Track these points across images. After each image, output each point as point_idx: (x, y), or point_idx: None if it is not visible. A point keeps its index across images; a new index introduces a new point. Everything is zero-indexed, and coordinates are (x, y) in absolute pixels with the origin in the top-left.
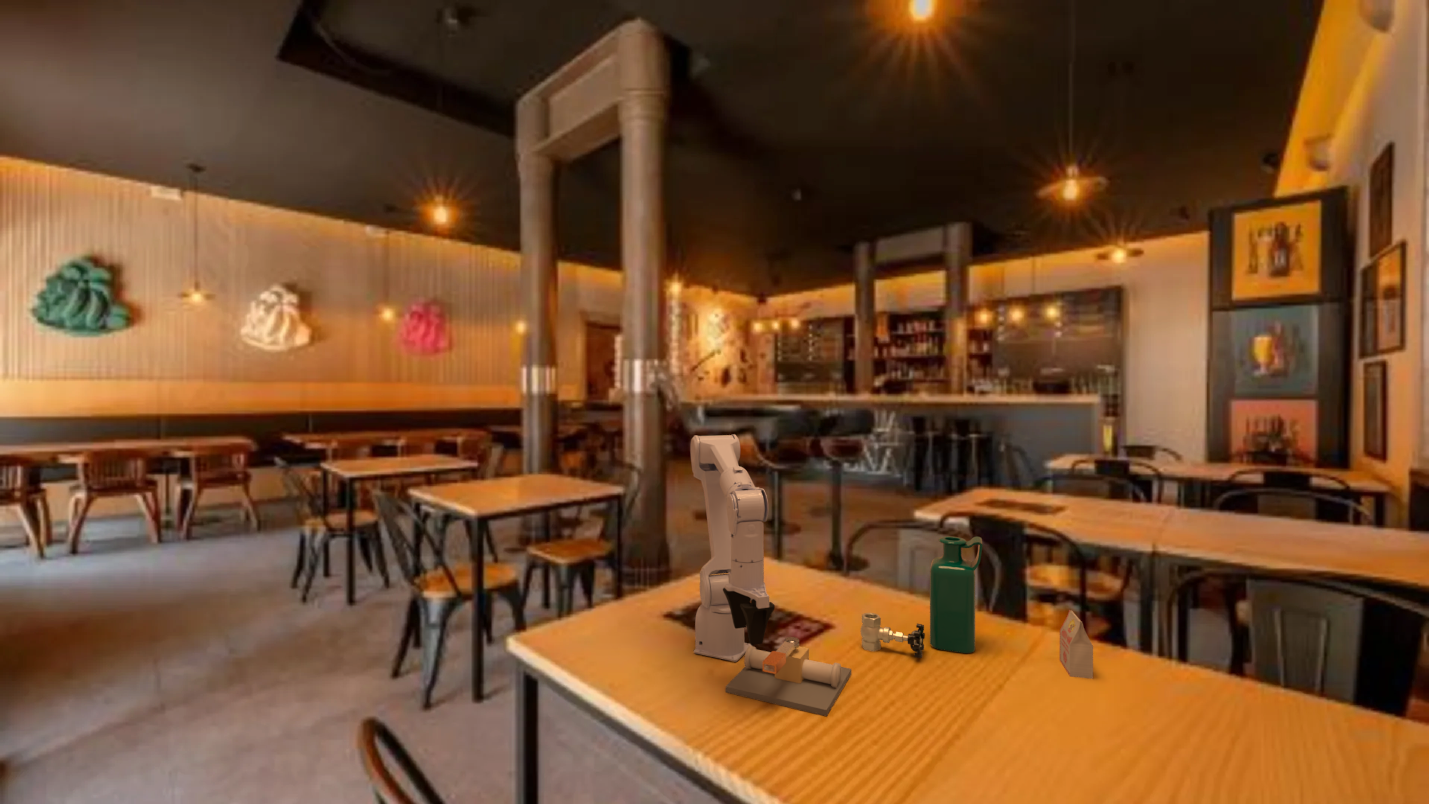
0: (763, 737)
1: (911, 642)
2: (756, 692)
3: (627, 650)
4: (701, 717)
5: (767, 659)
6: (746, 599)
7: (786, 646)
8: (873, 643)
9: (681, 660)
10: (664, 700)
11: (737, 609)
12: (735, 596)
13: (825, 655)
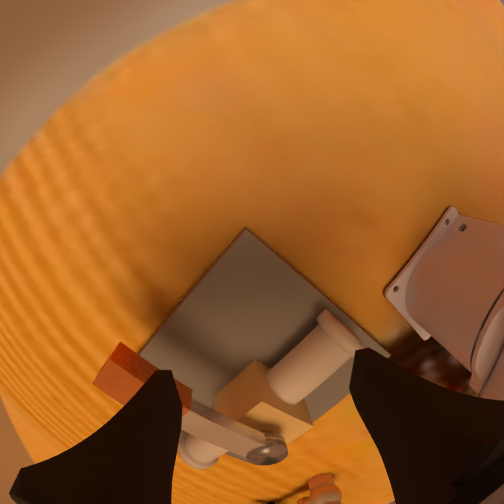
0: (51, 257)
1: None
2: (193, 300)
3: (476, 83)
4: (139, 138)
5: (125, 377)
6: (401, 479)
7: (226, 441)
8: (311, 489)
9: (432, 166)
10: (248, 64)
11: (396, 417)
12: (437, 464)
13: (328, 440)
